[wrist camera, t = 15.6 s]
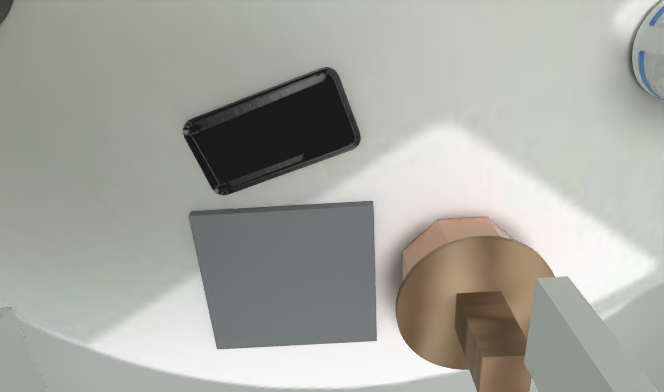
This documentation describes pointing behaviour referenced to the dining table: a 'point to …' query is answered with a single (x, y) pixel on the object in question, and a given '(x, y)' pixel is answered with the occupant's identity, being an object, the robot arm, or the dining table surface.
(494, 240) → the lid
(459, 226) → the bowl
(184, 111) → the dining table surface
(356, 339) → the mat
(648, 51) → the supplement tub
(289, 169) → the phone
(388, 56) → the dining table surface
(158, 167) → the dining table surface
